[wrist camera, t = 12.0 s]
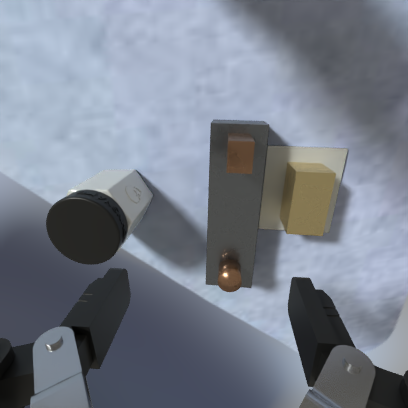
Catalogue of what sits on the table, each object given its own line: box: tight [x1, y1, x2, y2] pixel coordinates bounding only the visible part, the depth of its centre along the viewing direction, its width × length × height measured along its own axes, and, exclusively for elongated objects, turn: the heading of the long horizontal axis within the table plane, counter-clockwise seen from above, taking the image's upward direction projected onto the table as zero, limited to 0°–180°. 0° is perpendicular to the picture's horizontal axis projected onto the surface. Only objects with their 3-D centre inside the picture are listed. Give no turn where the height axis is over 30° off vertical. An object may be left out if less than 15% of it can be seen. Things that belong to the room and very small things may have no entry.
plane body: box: [206, 120, 269, 292], centre depth 33 cm, size 22×6×11 cm, turn 179°
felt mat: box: [258, 145, 348, 233], centre depth 36 cm, size 12×10×1 cm
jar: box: [46, 169, 153, 264], centre depth 33 cm, size 9×8×12 cm
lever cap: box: [280, 162, 336, 236], centre depth 34 cm, size 8×4×5 cm, turn 179°
